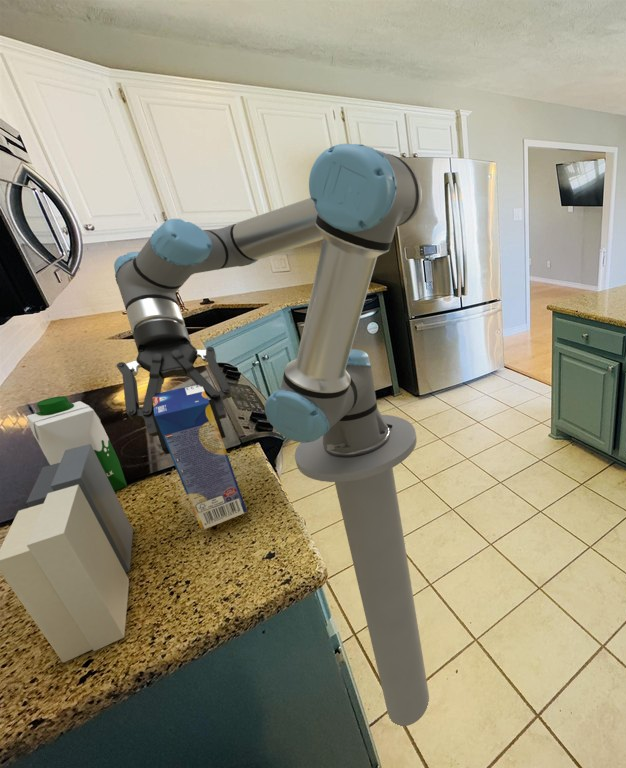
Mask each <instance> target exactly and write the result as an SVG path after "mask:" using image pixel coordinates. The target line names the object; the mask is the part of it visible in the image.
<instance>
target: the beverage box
mask: <svg viewBox="0 0 626 768" xmlns="http://www.w3.org/2000/svg"><path fill="white" fill-rule="evenodd" d="M208 400H209V397H208V396H207V395H206V393H205V391H204V388H203V386H200V385H198V384H192V385H187V386H183V387H179V388H175V389H170V390H166V391H161V393H157V395H156V396H155V397H153V406H154V416H155V418H156V421H157V423H158V426H159V428H160V431H161V433H162V435H163V438H164V440H165V443H166V445H167V448H168V450H169V452H170V454H169V455H170V457H171V459H172V462H173V465H174V467H175V469H176V471H177V474H178V476H179V479H180V481H181V484H182V486H183V488H184V492H185V493H186V496H187V499H188V501H189V503H190V506H191V508H192V511H193V514H194V516H195V518H196V520H197V523H198V525H199V527H200V530H201V531H204V530H206V529H208V528H211V527H214V526H216V525H219V524H222V523H224V522H226V521H229V520H231V519H234V518H236V517H238V516H241V515H243V514H246V513H248V509H247V507H246V503H245V501H244V498H243V494H242V492H241V490H240V487H239V484H238V481H237V478H236V475H235V473H234V469H233V466H232V464H231V461H230V458H229V455H228V452H227V449H226V446H225V444H224V441H223V438H221V435H220V432H219V429H218V426H217V423H216V420H215V417H214V415H213V412H212V409H211V406H210V403H209V401H208Z"/></svg>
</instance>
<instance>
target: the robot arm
mask: <svg viewBox="0 0 626 768" xmlns="http://www.w3.org/2000/svg"><path fill="white" fill-rule="evenodd" d="M308 191H309V198H305V199H303V200H300V201H297V202H294V203H291V204H288V205H285V206H283V207H279V208H276V209H273V210H270V211H267V212H264V213H262V214H259V215H255V216H253V217H250V218H247V219H245V220H242V221H238V222H236V223H233V224H230V225H227V226H224V227H220V228H213V229H202V228H201V227H199V226H198V225H196V223H193V222H190V221H185V220H183V219H181V218H170V219H166V220H165V221H164V222H163V223H162V224H161V225H160V226H159V227H158V228H157V229H156V230H154V231H153V233H152V234H151V235H150V238H148V240H147V242H146V243H145V244H144V245H143V247H142V248H141V250H140V251H129V252H127V253H126V254H123V255H119V256H118V257H117V258H116V259H115V261H114V264H113V268H114V278H115V281H116V285H117V287H118V290H119V293H120V295H121V299H122V302H123V305H124V309H125V311H126V316H127V320H128V323H129V325H130V329H131V333H132V336H133V339H134V342H135V347H136V349H137V356H136V359H135V360H132V361H130V362H128V363H127V362H124V361H121V362H118V363H117V364H116V368H117V370H119V372H120V374H121V375H122V376H121V377H122V385H123V393H124V394H123V395H124V403H125V413H126V414H127V415H128V417H129V418H130V419H131V420H132V421H139V420H143V421H144V423H145V427H146V431H147V432H148V434H149V435H150V436H151V437H152V438H153V437H157V438H158V440H159V444H160V446H161V450H162V451H163V453H165V454H164V455H170V452H169V450H168V448H167V445H166V443H165V440H164V438H163V435H162V433H161V431H160V428H159V426H158V423H157V421H156V418H155V416H154V406H153V397H155V396H156V395H157V393H161V392H162V388H163V385H164V383H165V379H168V378H171V377H175V376H184V375H186V376H187V377H188V378H189V379H190V380H192V382H193V383H194V384H195V385H197V384H198V385H200V386H203V388H204V391H205V393H206V396H207V398H208V401H209V403H210V406H211V409H212V412H213V415H214V417H215V420H216V423H217V426H218V429H219V432H220V435H221V438H222V439H225V438H226V437H227V436H226V434H225V430H224V427H223V425H222V422H221V420H222V419H226V418H227V411H226V409H225V406H224V401H225V400H226V399H230V398H231V397H233V393H232V389H231V387H230V385H229V383H228V381H227V379H226V377H225V375H224V373H223V372H222V370H221V367H220V365H219V363H218V362H217V354H216V350H215V348H214V347H213V346H208V347H206V349H197V348H196V346H194V345H193V344H192V341H191V338H190V335H189V332H188V329H187V327H186V324H185V320H184V317H183V314H182V311H181V308H180V305H179V302H178V299H177V295H176V294H177V292H178V291H179V289H181V287H183V285H185V283H186V282H187V281H188V280H189V278H190V277H192V275H195V274H199V273H200V274H201V273H206V272H213V271H219V270H223V269H229V268H236V267H245V266H249V265H253V264H255V263H257V262H258V261H259V260H261V259H265V258H268V257H271V256H274V255H277V254H282V253H284V252H287V251H291V250H293V249H297V248H300V247H303V246H304V247H305V246H306V245H309V244H313V243H316V242H320V241H322V244H321V248H320V252H319V256H318V262H317V264H316V265H317V266H316V271H315V275H314V280H313V284H312V287H311V293H310V297H309V302H308V306H307V311H306V315H305V319H304V324H303V329H302V333H301V337H300V342H299V346H298V352H297V355H296V358H295V359H293V360H291V361H289V362H287V363H286V366H285V368H284V370H283V376H282V380H281V385H280V387H279V389H277V390H275V391H273V392H271V394H270V395H269V397H267V399H266V400H265V403H264V413H265V417H266V419H267V421H268V423H269V424H270V425H271V426H272V427H273V429H274V430H275V432H277V433H278V434H279V435H281V436H282V437H284V438H286V439H288V440H290V441H292V442H295V443H300V442H301V443H308V442H313V441H315V440H317V439H319V438H320V437H321V436H323V446H324V450H325V451H326V453H328V454H329V455H331V456H335V457H341V458H349V457H357V456H362V455H365V454H369V453H371V452H374V451H376V450H378V449H379V448H381V447H382V446H384V445H385V444H386V443H387V441H388V440H389V437H390V434H389V428H392V425H390V424H387V423H386V422H385V420H384V419H383V417H382V415H383V414H382V413H381V411H380V410H379V408H378V402H377V395H376V390H375V384H374V378H373V371H372V364H371V361H370V356H369V355H368V353H367V352H366V351H364V350H361V349H356V348H355V349H353V344H354V342H355V341H354V340H355V337H356V334H357V330H358V327H359V323H360V319H361V316H362V312H363V309H364V305H365V302H366V298H367V295H368V291H369V288H370V284H371V281H372V277H373V273H374V271H375V270H374V269H375V266H376V263H377V260H378V257H379V256H381V255H384V254H386V253H388V252H389V251H390V249H391V247H392V243H393V239H394V236H395V232H396V229H397V227H401V226H403V225H406V224H407V223H409V222H410V221H411V220H413V219H414V217H415V216H417V214H418V212H419V211H420V208H421V205H422V201H423V189H422V183H421V181H420V179H419V176H418V175H417V173H416V172H415V169H414V168H413V167H412V166H411V165H410V164H409V163H408V162H407V161H405V160H404V159H403V158H401V157H399V156H396V155H394V154H391V153H386V152H384V151H381V150H378V149H376V148H373V147H370V146H367V145H364V144H359V143H339V144H336V145H333V146H330V147H329V148H327V149H325V150H324V151H323V152H321V153H320V154H319V156H318V157H317V158H316V159H315V161H314V162H313V165H312V167H311V168H310V172H309V177H308ZM198 358H201V360H202V361H203V362H205V363H207V365H208V367H209V369H210V372H211V373H212V375H213V377H214V379H215V381H216V383H217V385H218V387H219V389H220V390H219V391H217V389H215V387H214V386H213V385H212V384H211V383H210V382H209V381H208V380H207V379H206V377H204V376H203V375H202V374H201V373H200V371H198V369H196V368H195V365H194V364H195V362H196V361H197V359H198ZM140 368H141V369H143V370H145V371H147V372H148V373H149V374H148V383H147V386H146V392H145V396H144V400H143V405H142V408H140V407H141V406H140V399H139V391H138V383H137V378H136V376H137V375H138V374H139V369H140ZM388 427H389V428H388Z"/></svg>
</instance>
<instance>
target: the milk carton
mask: <svg viewBox="0 0 626 768" xmlns="http://www.w3.org/2000/svg"><path fill="white" fill-rule="evenodd" d="M36 406H37V409H38V410H39V411H37V412H35V413H32V414H28V415H26V419H27V422H28V425H29V428H30V430H31V432H32V434H33V436H34V438H35V440H36V441H37V443H38V446H39V447H40V450H41V451H42V453H43V455H44V457H45V458H46V461H47V462H48V464H49V465H53V464H56V463H60V462H61V459H62V457H63V455H64V452H65V450H68V449H72V448H76V447H80V446H84V445H88V444H91V445H92V447H93V449H94V451H95V453H96V455H97V457H98V459H99V462H100V464H101V466H102V468H103V470H104V472H105V474H106V476H107V478H108V480H109V482H110V484H111V486H112V488H113V490H114V492H116V491H119V490H122V489H124V488H126V487H128V485H127V480H126V478H125V475H124V472H123V470H122V466H121V462H120V460H119V457H118V456H117V453H116V451H115V449H114V446H113V445H112V443H111V441H110V438H109V436H108V434H107V433H106V429H105V427H104V426H103V424H102V422H101V418H100V417H99V415H97V413H96V412H95V409H93V408H92V407H91V406H90V405H88V404H86V403H84V402H83V401H81V400H79V401H75V402H71V403H70V401H69V399H68V397H67V396H66V395H65V396H64V395H60V396H54V397H49V398H45V399H43V400H40V401H38V402H37V403H36Z"/></svg>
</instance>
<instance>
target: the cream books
mask: <svg viewBox="0 0 626 768" xmlns="http://www.w3.org/2000/svg"><path fill="white" fill-rule="evenodd" d="M0 574H1V576H2V577H3V579H4V580H5V581H6V583H7V584H8V586H9V587H10V589H11V590H12V591H13V593H14V594H15V596H16V597H17V599H18V600H19V601H20V603H21V604H22V606H23V607H24V609H25V610H26V612H27V614H29V616H30V618H31V619H32V621H34V623H35V625H36V627H38V629H39V631H40V632H41V633H42V634H43V636H44V638H45V640H46V641H47V642H48V643H49V645H50V646H51V648H52V649H53V651H54V652H55V654H56V655H57V656H58V658H59V659H60V661H61V662H62V663H63V664H64V663H66V662H68V661H71V660H73V659H75V658H77V657H79V656H81V655H84V654H86V653H88V652H90V651H93V652H96V651H98V650H100V649H102V648H105V647H107V646H109V645H111V644H113V643H115V642H117V641H119V640H122V639H124V638H125V637H126V636H125V635H126V623H127V610H128V600H129V587H130V585H129V584H130V579H129V577H128V575H127V573H125V571H124V569H123V567H122V565H121V564H120V562H119V560H118V558H117V556H116V554H115V552H114V550H113V549H112V547H111V545H110V543H109V541H108V539H107V537H106V535H105V533H104V532H103V530H102V528H101V526H100V524H99V522H98V520H97V518H96V516H95V515H94V513H93V511H92V509H91V507H90V505H89V503H88V501H87V499H86V498H85V496H84V494H83V492H82V490H81V488H80V486H79V485H75V486H72V487H68V488H65V489H61V490H58V491H54V492H51V493H48V494H47V496H46V499H45V501H44V503H43V504H40V505H36V506H33V507H30V508H29V507H26V508H22V509H19V510H18V511H17V512H16V515H15V517H14V519H13V521H12V524H11V526H10V527H9V529H8V532H7V533H6V535H5V538H4V540H3V542H2V544H1V546H0Z"/></svg>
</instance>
